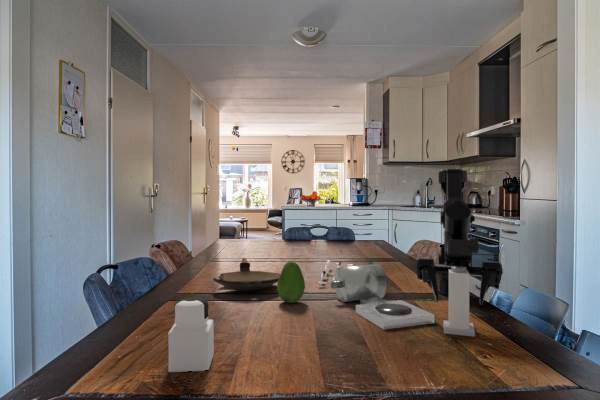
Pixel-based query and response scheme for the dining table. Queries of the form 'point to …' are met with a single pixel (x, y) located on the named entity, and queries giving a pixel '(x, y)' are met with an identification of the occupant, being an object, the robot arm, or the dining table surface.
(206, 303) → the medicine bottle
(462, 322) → the white pedestal with button
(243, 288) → the oil lamp
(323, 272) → the miniature set
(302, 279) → the avocado
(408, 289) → the dining table surface
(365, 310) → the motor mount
